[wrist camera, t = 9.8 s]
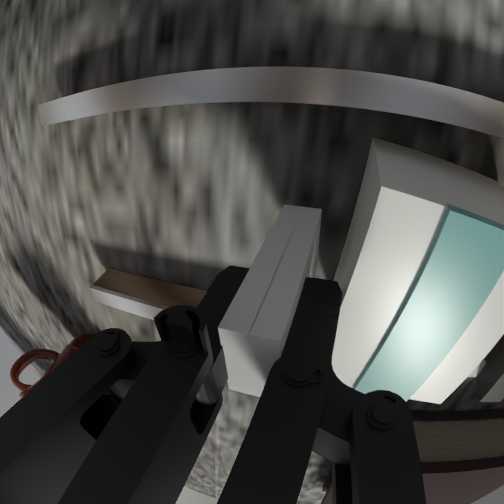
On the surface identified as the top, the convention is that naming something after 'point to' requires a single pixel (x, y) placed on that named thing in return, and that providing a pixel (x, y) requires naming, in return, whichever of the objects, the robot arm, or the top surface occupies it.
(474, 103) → the rail board
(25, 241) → the top surface
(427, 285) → the block
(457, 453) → the book
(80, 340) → the mug
